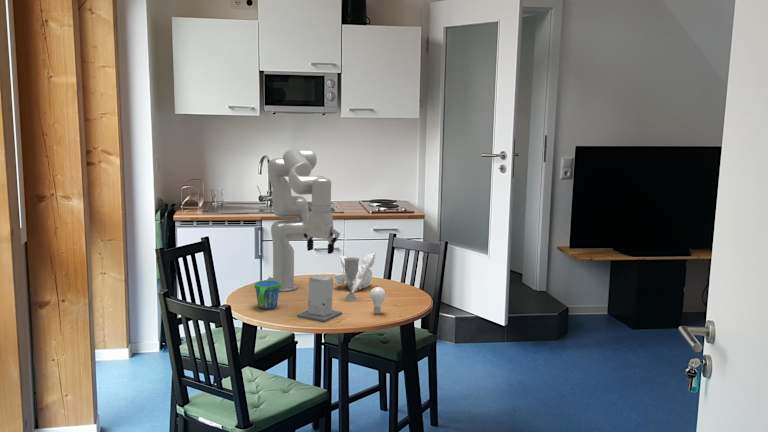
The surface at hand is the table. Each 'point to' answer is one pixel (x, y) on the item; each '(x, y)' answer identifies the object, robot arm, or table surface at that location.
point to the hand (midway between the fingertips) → (320, 251)
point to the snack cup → (267, 293)
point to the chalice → (351, 274)
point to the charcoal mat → (319, 316)
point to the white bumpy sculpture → (358, 273)
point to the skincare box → (320, 295)
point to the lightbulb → (377, 298)
